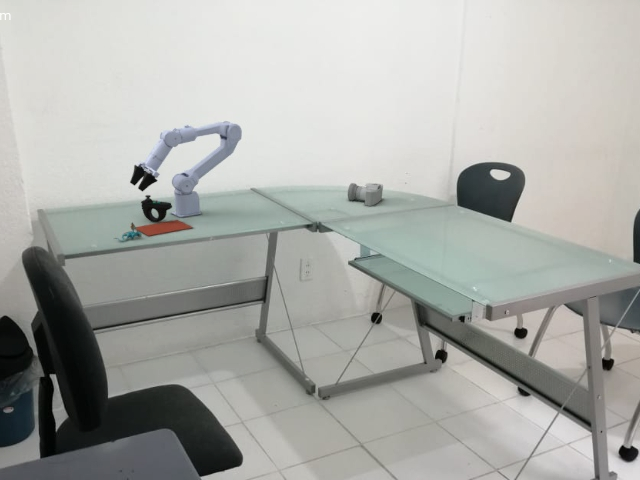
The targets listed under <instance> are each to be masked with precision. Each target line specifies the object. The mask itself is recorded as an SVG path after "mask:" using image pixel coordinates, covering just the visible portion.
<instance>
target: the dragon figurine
mask: <svg viewBox="0 0 640 480" xmlns="http://www.w3.org/2000/svg"><path fill="white" fill-rule="evenodd" d="M136 227H137V226H136V225H135V224H134V222H133V221H132V222H131V224H130V229H131V230H129V231H125V232H123V233H122V235H121V239H122V240H121V239H120V238H117V237H113V240H114V239H116V240H118V241H119V242H122V243H124V242H125V241H126V240H128V239H131V240H134V238H136V237H138V238H142V234H143V233H142V232H140V231H138V229H135V228H136ZM135 230H136V231H135ZM124 237H126V240H125V238H124Z"/></svg>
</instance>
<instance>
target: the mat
mask: <svg viewBox="0 0 640 480" xmlns="http://www.w3.org/2000/svg"><path fill="white" fill-rule="evenodd" d="M135 227H136V228H135V229H134V230H136V229H138V231H140V232H141V234H144V235H145V236H147V237H152V236H153V237H154V236H159V235H164V234H168V233H174V232H180V231H186V230H190V229H193V228H194V227H193V226H191V225H188V224H187V223H185V222H182V221H181V220H178V219H175V220H169V221H162V222H156V223H151V224H146V225H139V226H135Z"/></svg>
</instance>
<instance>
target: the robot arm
mask: <svg viewBox="0 0 640 480" xmlns="http://www.w3.org/2000/svg"><path fill="white" fill-rule="evenodd" d="M242 132H243V131H242V128H241V126H240V125H239V124H238V123H233V122H230V121H227V120H225V121H217V122H214V123H210V124H205V125H203V126H198V127H194V126H192V125H189V124H185V125H184V127H179V128H176V127H173V128H172V130H170V129H166V130H163V132H160V134H159V139H158V142H157V143H156V144H155V146H153V148H152V150H151V151H150V152H149V154H148V155H147V157H146V159H145V160H144V161H142V160H139V162H138V163H137V164H134V166H133V172H132V175H131V179H130V181H129V184H131V185H133V186H136V185H137V184H138V183H139V182H140V183H139V185H138V187H137V189H138V190H139V191H141V192H144V191H145V190H147V189H148V188H149V187H150V186H151V185H153V184H155V183H158V178H159V176H160V173H159V172H158V170H159V169H160V167H161V166H162V164H163V162H165V160H166V158H167V157H168V156H169V154H170V152H171V151H172V150H173V148H177V147H178V146H179V145H182V144H187V143H190V142H191V143H192V142H194V141H196V139H197V138H198V137H203V136H210V135H215V134H217V135H219V139H220V145H219V146H218V147H216V149H214V150H213V151H212V152H210V153H209V154H208V155H206V156H205V157H204V158H203V159H202V160H200V161H199V162H197V163H196V164H195V165H193V166H192V167H191V168H190V169H186V170H184V171H182V172H181V173H176V174H175V175H174V176H173V177H172V179H171V184H172V187H173V188H174V191H173V192H174V193H173V195H174V211H171V214H173V215H174V216H176V217H179V218H185V217H191V216H197V215H201V214H202V213H201V207H200V206H201V205H200V196H199V193H198V192H197V191H195V190H194V189H195V187H196V186H197V185H198V184H199V182H200V179H202V178H203V177H204V176H206V175H207V174H208V173H209V172H211V171H212V170H213V169H215V168H216V167H217V166H218V165H220V164H221V163H222V162H224V161H225V160H226V159H227V158H229V157H230V156H231V155H233V153H234V152H235V150H236V148H237V145H238V144H239V142H240V141H241V140H242ZM141 179H142V180H141ZM140 180H141V181H140Z"/></svg>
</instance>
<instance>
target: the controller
mask: <svg viewBox="0 0 640 480" xmlns="http://www.w3.org/2000/svg"><path fill="white" fill-rule="evenodd" d="M144 197H145V199H143V200H141V201H140V204H141V210H142V213H143V215H144V218H146V219H147V220H148V221H149V222H152V223H160V222H161V221H163V220H164V219H166V216H167V213H168V211H169V210H171V209H172V208H173V205H172V203H171V202H167V201H160V200H153V199H152V198H151V195H150V194H146V195H145V196H144ZM153 210H155V211H156V212H157V215H158V216H157V217H155V216H154V215H153V212H152V211H153Z"/></svg>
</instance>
